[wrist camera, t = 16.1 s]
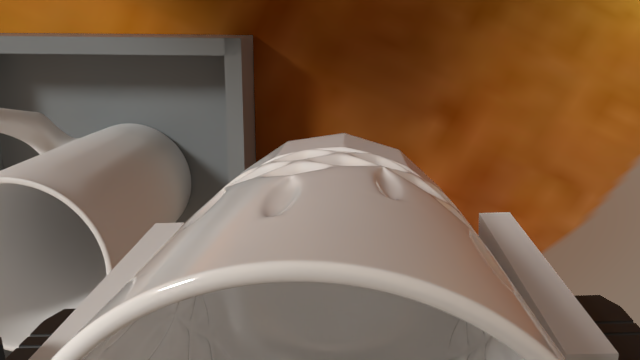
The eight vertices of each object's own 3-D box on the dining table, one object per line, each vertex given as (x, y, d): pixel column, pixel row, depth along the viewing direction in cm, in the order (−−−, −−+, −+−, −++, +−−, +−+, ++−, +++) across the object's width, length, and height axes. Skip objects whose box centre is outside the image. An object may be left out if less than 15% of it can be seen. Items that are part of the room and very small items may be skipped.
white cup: (168, 329, 18) (-49, 699, 8) (234, 72, 16) (45, 169, 6) (422, 405, 18) (498, 851, 9) (522, 160, 16) (772, 388, 6)
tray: (-23, 33, 32) (-68, 35, 28) (253, 35, 31) (240, 37, 28) (31, 418, 38) (0, 457, 35) (262, 427, 37) (253, 468, 34)
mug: (223, 182, 33) (152, 276, 21) (141, 260, 34) (33, 388, 23) (82, 44, 31) (-78, 64, 20) (3, 133, 33) (-189, 199, 21)
